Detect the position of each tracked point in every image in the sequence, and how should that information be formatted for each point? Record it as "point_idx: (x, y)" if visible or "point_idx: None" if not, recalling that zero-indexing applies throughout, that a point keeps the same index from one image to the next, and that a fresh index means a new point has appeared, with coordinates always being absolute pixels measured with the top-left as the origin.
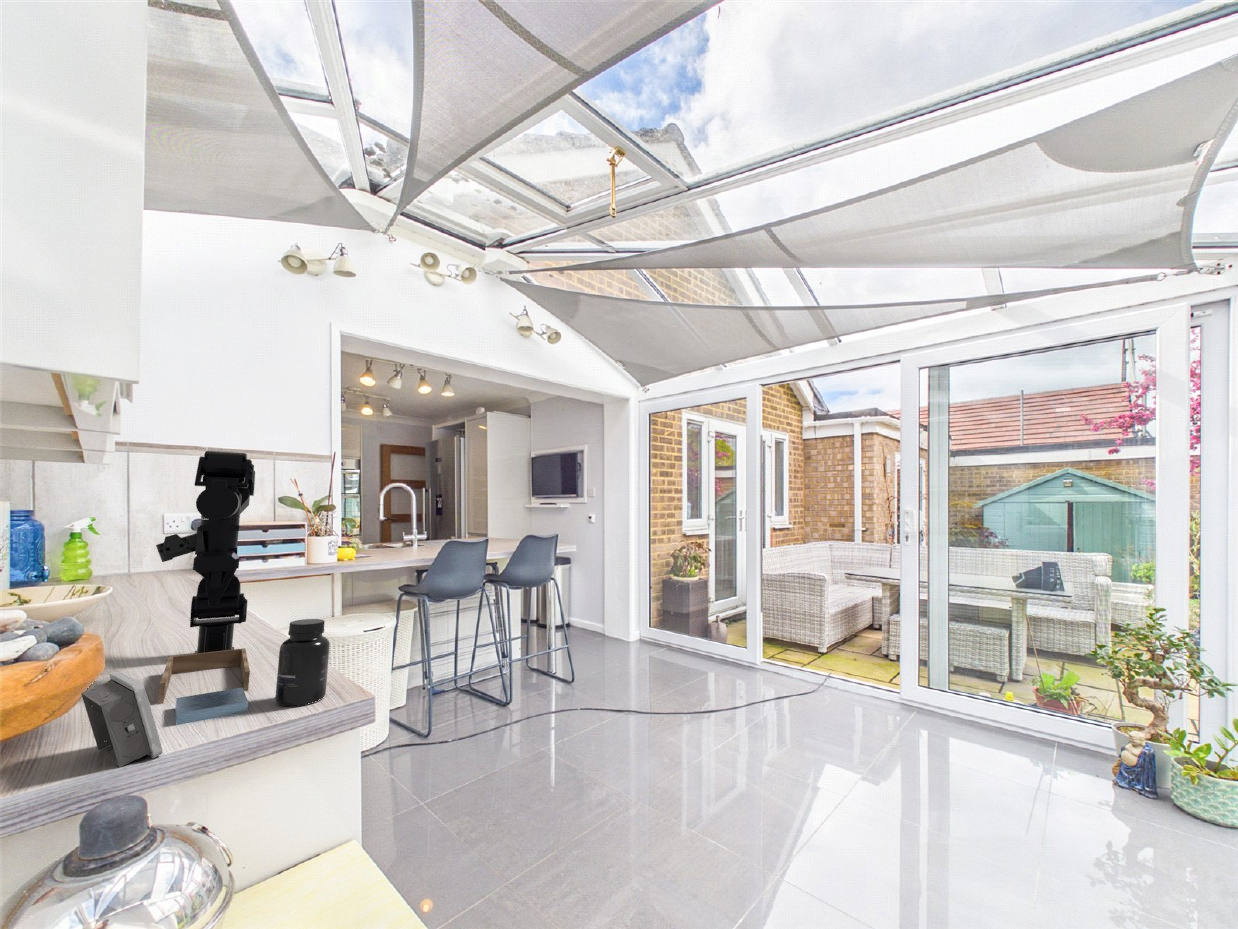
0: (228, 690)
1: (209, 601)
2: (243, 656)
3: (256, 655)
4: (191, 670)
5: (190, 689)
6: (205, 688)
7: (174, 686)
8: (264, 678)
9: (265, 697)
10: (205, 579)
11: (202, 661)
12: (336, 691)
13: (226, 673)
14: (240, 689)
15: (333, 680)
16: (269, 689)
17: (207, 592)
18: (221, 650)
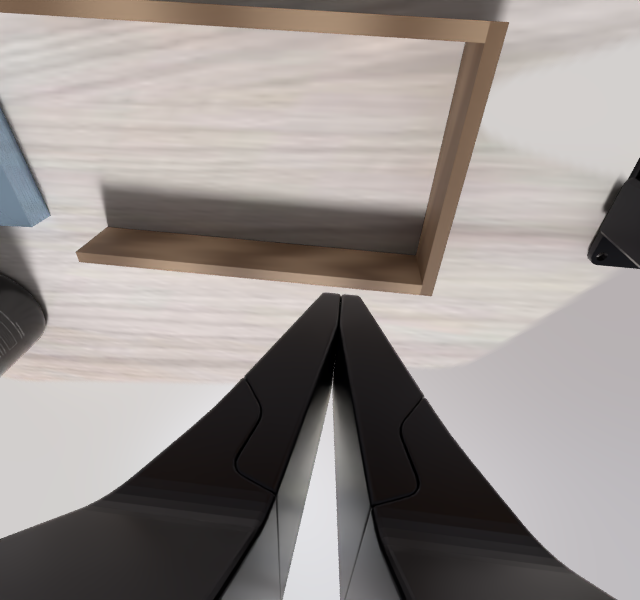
0: (6, 195)
1: (308, 315)
2: (293, 274)
3: (526, 307)
4: (450, 115)
5: (187, 101)
6: (179, 144)
7: (255, 50)
8: (217, 281)
9: (38, 257)
10: (132, 482)
11: (446, 158)
12: (49, 357)
13: (339, 212)
14: (10, 220)
15: (133, 371)
16: (105, 273)
17: (263, 358)
18: (609, 233)
